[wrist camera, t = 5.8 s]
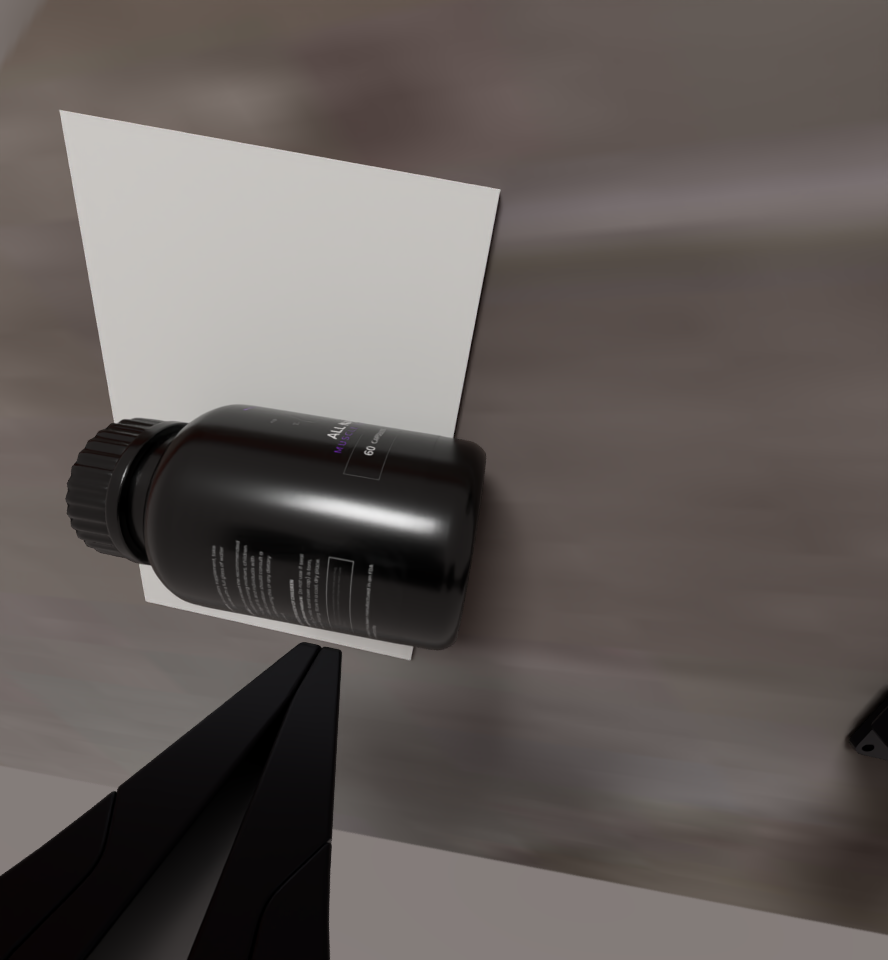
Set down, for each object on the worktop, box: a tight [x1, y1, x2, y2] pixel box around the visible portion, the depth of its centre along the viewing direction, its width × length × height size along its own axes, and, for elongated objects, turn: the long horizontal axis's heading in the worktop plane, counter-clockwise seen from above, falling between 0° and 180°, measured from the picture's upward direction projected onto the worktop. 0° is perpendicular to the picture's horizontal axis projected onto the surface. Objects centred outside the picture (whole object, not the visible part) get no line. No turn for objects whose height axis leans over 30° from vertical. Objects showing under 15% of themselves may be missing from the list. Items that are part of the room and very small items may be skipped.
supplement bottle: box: [65, 404, 486, 650], centre depth 14 cm, size 7×7×12 cm
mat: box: [60, 110, 500, 660], centre depth 17 cm, size 14×20×1 cm
